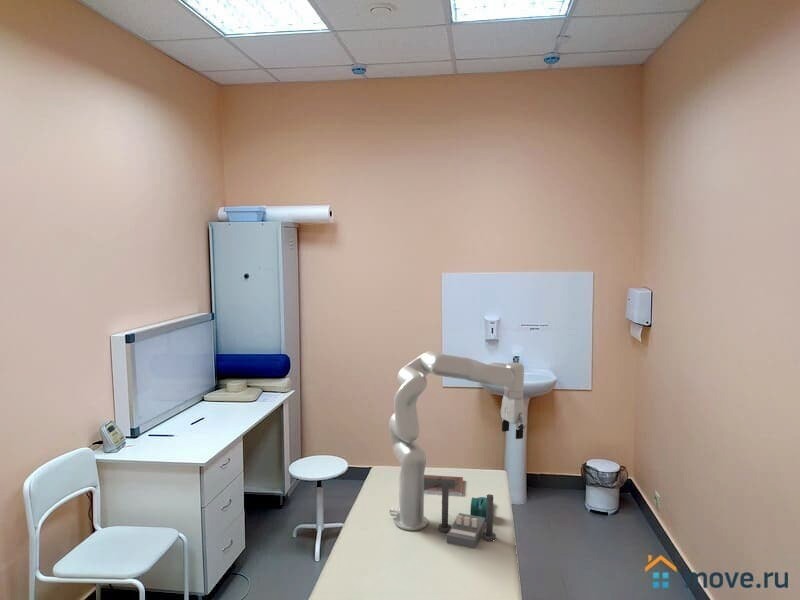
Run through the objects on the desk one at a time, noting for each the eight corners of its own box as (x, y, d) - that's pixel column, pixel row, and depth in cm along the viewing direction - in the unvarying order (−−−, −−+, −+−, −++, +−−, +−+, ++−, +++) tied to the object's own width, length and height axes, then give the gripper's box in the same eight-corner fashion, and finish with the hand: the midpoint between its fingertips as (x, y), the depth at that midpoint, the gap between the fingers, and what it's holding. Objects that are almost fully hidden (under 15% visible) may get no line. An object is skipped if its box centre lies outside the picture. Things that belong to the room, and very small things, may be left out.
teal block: (487, 523, 217) (488, 504, 217) (470, 521, 219) (470, 502, 219) (492, 503, 235) (492, 485, 234) (476, 501, 237) (476, 483, 236)
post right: (480, 540, 205) (481, 497, 203) (483, 533, 209) (484, 491, 208) (494, 542, 203) (495, 499, 201) (497, 536, 208) (498, 494, 206)
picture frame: (412, 494, 244) (461, 497, 241) (412, 488, 244) (462, 492, 241) (416, 478, 260) (462, 481, 257) (416, 473, 260) (462, 476, 257)
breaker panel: (446, 542, 203) (446, 534, 202) (459, 520, 219) (459, 512, 219) (474, 548, 199) (474, 539, 199) (485, 525, 216) (485, 517, 215)
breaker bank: (456, 524, 210) (456, 516, 209) (457, 522, 211) (457, 515, 211) (476, 527, 207) (476, 520, 207) (477, 526, 208) (477, 518, 208)
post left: (436, 531, 211) (437, 490, 209) (440, 525, 215) (440, 484, 214) (449, 533, 209) (450, 492, 207) (452, 527, 214) (453, 486, 212)
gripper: (494, 389, 232) (492, 429, 234) (518, 399, 217) (516, 442, 218) (509, 387, 235) (507, 427, 237) (534, 398, 220) (532, 440, 221)
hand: (512, 434), depth 228 cm, fingers open, 9 cm apart
